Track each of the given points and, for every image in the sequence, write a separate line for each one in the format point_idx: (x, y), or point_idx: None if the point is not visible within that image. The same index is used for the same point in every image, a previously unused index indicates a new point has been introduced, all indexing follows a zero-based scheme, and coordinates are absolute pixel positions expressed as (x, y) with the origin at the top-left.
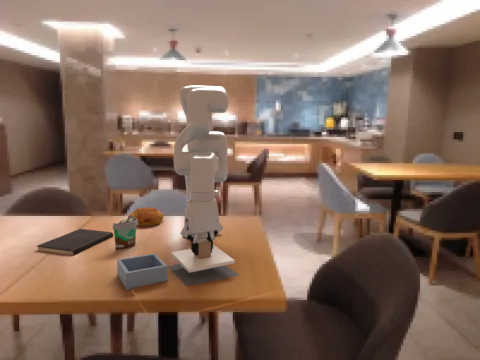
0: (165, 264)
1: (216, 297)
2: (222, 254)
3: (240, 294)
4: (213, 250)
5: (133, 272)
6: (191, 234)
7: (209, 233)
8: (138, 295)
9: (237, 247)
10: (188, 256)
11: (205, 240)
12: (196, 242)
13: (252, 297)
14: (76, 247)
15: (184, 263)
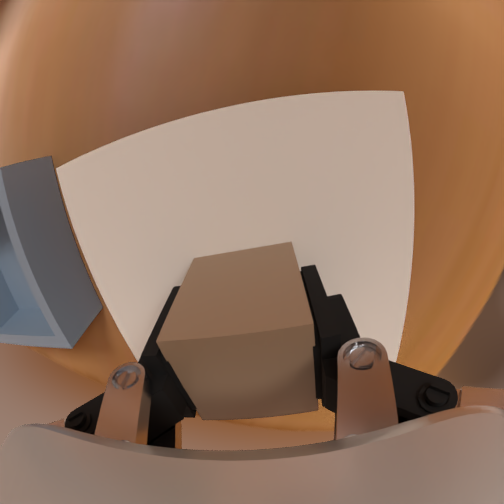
0: (60, 332)
1: (249, 420)
2: (387, 297)
3: (315, 418)
4: (366, 210)
5: (6, 342)
6: (110, 432)
7: (363, 403)
8: (55, 349)
9: (479, 31)
10: (154, 272)
11: (284, 380)
12: (182, 404)
13: (333, 428)
14: None
15: (136, 350)
